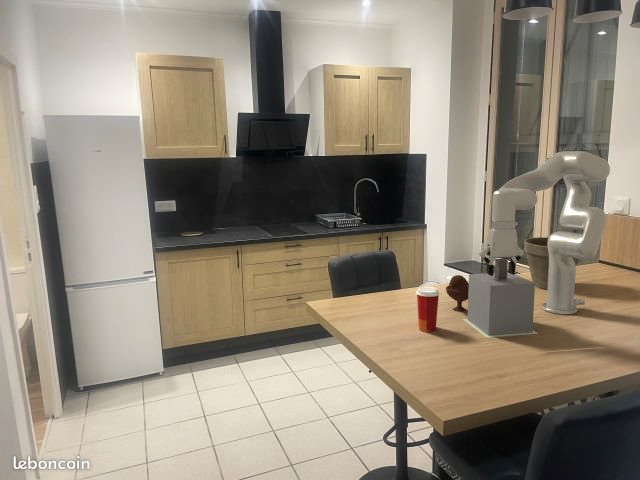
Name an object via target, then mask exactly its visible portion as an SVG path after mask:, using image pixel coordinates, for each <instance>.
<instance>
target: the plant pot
mask: <svg viewBox="0 0 640 480" xmlns="http://www.w3.org/2000/svg"><path fill="white" fill-rule="evenodd" d="M548 238H549V237H548V236H547V237H539V236H538V237H530V238H525V239H524V242H523V245H524V246H523V251H524V253H525V252H526V253H525V254H526V259H527V263H528V268H529V272H530V278H531V282H534V283H535V288H538V289H541V290H546V291H547V289H548V273H549V252H548V246H547V242H548ZM573 260H574V262H575V265H576V266H577V265H578V262H579V260H580V259H577V258H573Z"/></svg>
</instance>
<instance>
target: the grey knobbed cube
mask: <svg viewBox="0 0 640 480" xmlns="http://www.w3.org/2000/svg"><path fill="white" fill-rule="evenodd" d="M494 262H495V263H494V273H493V276H490V275H488V274H487V272H486V273H473V274H472V273H471V274H470V273H469V274H468V283H469V291H468V300H467V319H468V321H470V322H471V323H472V324H474V325H475V326H476V327H478V328H479V329H480V330H482V331H483V332H484V333H485V334H487V335H488V336H493V335H506V334H519V333H532V330H533V329H534V311H535V310H534V308H535V294H536V293H535V291H536V287H535V283H534V282H532V280H529V279H527V278H524V277H522V276H520V275H517V274H514V275H512V274H510V273H508V265H509V260H508V259H506V258H495V260H494ZM533 331H534V330H533Z"/></svg>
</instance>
